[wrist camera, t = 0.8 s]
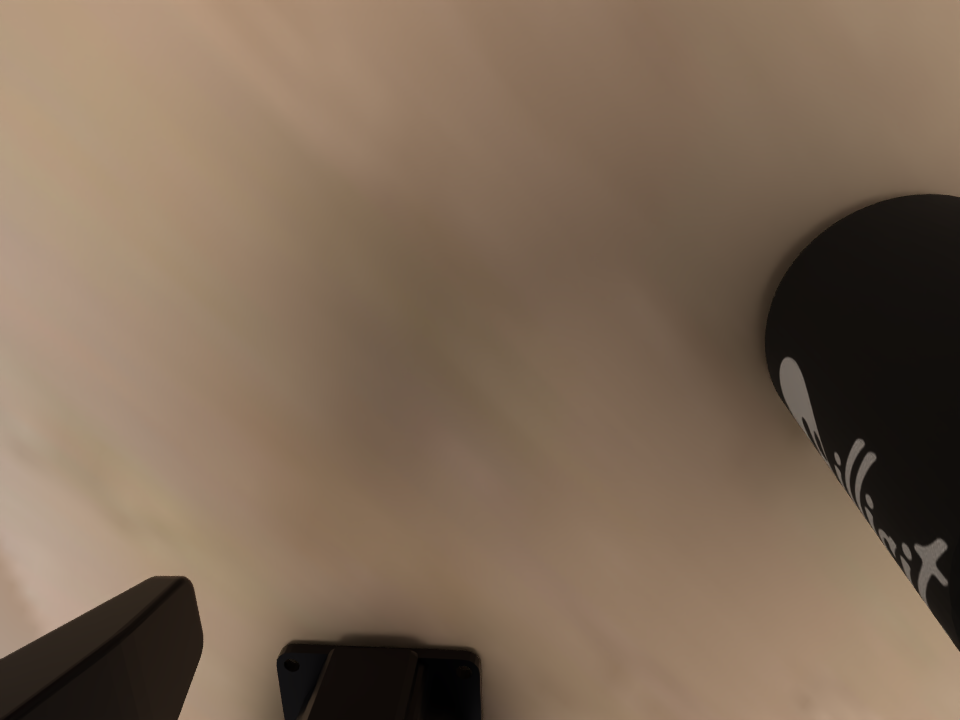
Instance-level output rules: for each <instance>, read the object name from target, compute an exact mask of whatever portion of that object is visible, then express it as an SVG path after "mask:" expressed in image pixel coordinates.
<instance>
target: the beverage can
mask: <svg viewBox="0 0 960 720" xmlns="http://www.w3.org/2000/svg"><path fill="white" fill-rule="evenodd" d="M765 352H766V360H767V365H768V370H769V373H770V377H771V379H772V382H773V385H774V387H775V389H776V391H777V393H778V395H779V396H780V398H781V399H782V401H783V403H784V404H785V405H786V407H787V408H788V410H789V411H790V412H791V414H792V415H793V417H794V418H795V420H796V421H797V422H798V424H799V425H800V427H801V428H802V429H803V431H804V432H805V434H806V435H807V437H808V438H809V439H810V441H811V442H812V444H813V445H814V446H815V448H816V449H817V451H818V452H819V453H820V455H821V456H822V458H823V459H824V461H825V462H826V463H827V465H828V466H829V468H830V469H831V470H832V472H833V473H834V475H835V476H836V478H837V479H838V480H839V482H840V483H841V485H842V486H843V487H844V489H845V490H846V492H847V493H848V494H849V496H850V497H851V499H852V500H853V502H854V503H855V504H856V506H857V507H858V509H859V510H860V511H861V513H862V514H863V516H864V517H865V519H866V520H867V521H868V523H869V524H870V526H871V527H872V528H873V530H874V531H875V533H876V534H877V536H878V537H879V538H880V540H881V541H882V543H883V544H884V545H885V547H886V548H887V550H888V551H889V552H890V554H891V555H892V557H893V558H894V560H895V561H896V562H897V564H898V565H899V567H900V568H901V569H902V571H903V572H904V574H905V575H906V577H907V578H908V579H909V581H910V582H911V584H912V585H913V586H914V588H915V589H916V591H917V592H918V593H919V595H920V596H921V598H922V599H923V601H924V602H925V603H926V605H927V606H928V608H929V609H930V610H931V612H932V613H933V615H934V616H935V618H936V619H937V620H938V622H939V623H940V625H941V626H942V627H943V629H944V630H945V632H946V633H947V634H948V636H949V637H950V639H951V640H952V642H953V643H954V644H955V646H956V647H957V649H958V650H959V651H960V197H955V196H949V195H935V194H926V195H911V196H904V197H899V198H894V199H890V200H886V201H882V202H879V203H876V204H874V205H871V206H868V207H866V208H863V209H861V210H858V211H856V212H854V213H852V214H851V215H849V216H847V217H845V218H843V219H842V220H840V221H838V222H837V223H835V224H834V225H832V226H831V227H829V228H828V229H827V230H825V231H824V232H822V233H821V234H820V235H819V236H818V237H817V238H816V239H814V240H813V241H812V242H811V243H810V244H809V245H808V246H807V247H806V248H805V249H804V250H803V251H802V252H801V253H800V255H799V256H798V257H797V258H796V260H795V261H794V262H793V264H792V265H791V266H790V267H789V269H788V271H787V272H786V274H785V276H784V277H783V279H782V281H781V282H780V284H779V287H778V289H777V291H776V293H775V296H774V298H773V301H772V304H771V307H770V311H769V314H768V319H767V325H766V333H765Z"/></svg>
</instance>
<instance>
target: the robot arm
mask: <svg viewBox="0 0 960 720" xmlns="http://www.w3.org/2000/svg"><path fill="white" fill-rule="evenodd" d="M202 649H203V631H202V626H201V621H200V616H199V611H198V606H197V601H196V596H195V591H194V587H193V584H192V583H191V581H190V580H189V579H188V578H186V577H184V576H154V577H151V578H149V579H147V580H145V581H143V582H141V583H140V584H138V585H136V586H134V587H132V588H130V589H129V590H127V591H125V592H123V593H121V594H119V595H118V596H116V597H114V598H112V599H110V600H108V601H107V602H105V603H103V604H101V605H99V606H97V607H96V608H94V609H92V610H90V611H88V612H86V613H85V614H83V615H81V616H79V617H77V618H75V619H74V620H72V621H70V622H68V623H66V624H64V625H63V626H61V627H59V628H57V629H55V630H53V631H51V632H50V633H48V634H46V635H44V636H42V637H40V638H39V639H37V640H35V641H33V642H31V643H29V644H28V645H26V646H24V647H22V648H20V649H19V650H17V651H15V652H13V653H11V654H9V655H8V656H6V657H4V658H2V659H0V720H178V717H179V715H180V712H181V709H182V706H183V704H184V701H185V698H186V696H187V693H188V690H189V687H190V685H191V682H192V679H193V676H194V674H195V671H196V668H197V666H198V663H199V660H200V657H201V654H202ZM289 659H294V660H296V661H297V662H298V663H295V662H292V661H291V660H289ZM460 666H466V667H469V668H470V669H468V670H464V669H461V668H460ZM277 672H278V678H279V685H280V692H281V698H282V705H283V712H284V718H285V720H483V707H482V679H481V662H480V659H479V658H478V657H477V655H476V654H474V653H472V652H470V651H464V650H438V649H412V648H387V647H361V646H335V645H310V644H289V645H287V646H285V647H284V648H283V649H282V651H281V652H280V654H279V657H278V659H277Z"/></svg>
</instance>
